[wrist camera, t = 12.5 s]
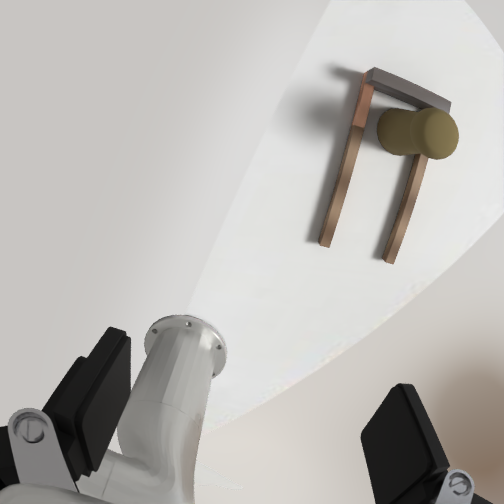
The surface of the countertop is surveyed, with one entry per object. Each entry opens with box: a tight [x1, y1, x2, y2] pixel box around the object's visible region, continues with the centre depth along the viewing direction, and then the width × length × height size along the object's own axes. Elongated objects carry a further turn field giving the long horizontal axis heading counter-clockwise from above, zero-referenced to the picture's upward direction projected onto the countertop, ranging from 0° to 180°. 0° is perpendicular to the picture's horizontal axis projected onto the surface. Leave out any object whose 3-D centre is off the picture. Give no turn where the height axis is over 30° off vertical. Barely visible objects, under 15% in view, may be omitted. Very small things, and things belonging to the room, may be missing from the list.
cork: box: [377, 107, 459, 160], centre depth 29 cm, size 6×6×11 cm
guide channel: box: [318, 67, 451, 264], centre depth 34 cm, size 22×10×4 cm, turn 167°
